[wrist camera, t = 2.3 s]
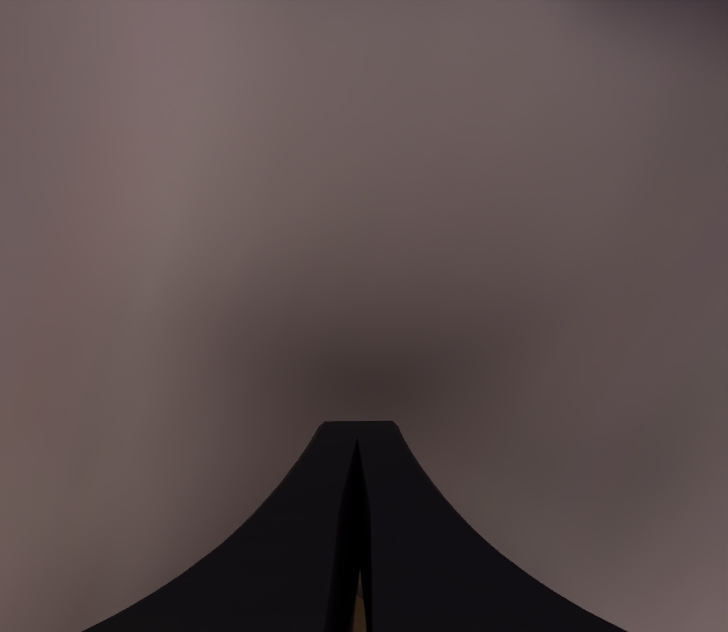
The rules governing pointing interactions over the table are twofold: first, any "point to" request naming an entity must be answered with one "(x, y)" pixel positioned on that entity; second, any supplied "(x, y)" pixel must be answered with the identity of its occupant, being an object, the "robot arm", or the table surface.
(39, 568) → the table surface
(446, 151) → the table surface
